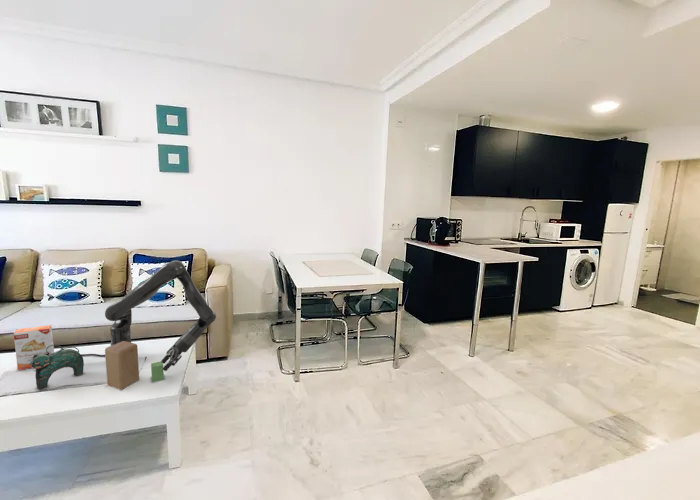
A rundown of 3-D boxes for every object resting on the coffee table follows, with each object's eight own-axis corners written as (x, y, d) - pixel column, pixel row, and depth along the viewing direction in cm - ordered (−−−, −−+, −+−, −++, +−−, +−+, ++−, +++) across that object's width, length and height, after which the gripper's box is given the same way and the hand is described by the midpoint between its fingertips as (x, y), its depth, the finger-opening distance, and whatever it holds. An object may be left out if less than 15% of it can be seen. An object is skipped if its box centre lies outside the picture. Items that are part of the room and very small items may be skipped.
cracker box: (17, 371, 171) (12, 333, 168) (20, 365, 176) (16, 328, 173) (53, 364, 179) (49, 328, 176) (55, 359, 184) (51, 324, 181)
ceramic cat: (35, 392, 155) (31, 353, 151) (30, 388, 158) (26, 349, 155) (86, 374, 171) (83, 338, 168) (80, 370, 175) (77, 335, 171)
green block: (151, 377, 172) (150, 363, 170) (162, 374, 175) (162, 360, 173) (152, 382, 168) (151, 367, 166) (163, 379, 171) (163, 365, 169)
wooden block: (140, 380, 169) (138, 343, 166) (121, 390, 159) (118, 352, 156) (126, 375, 172) (123, 339, 169) (106, 385, 163) (103, 348, 159)
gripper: (178, 332, 180) (155, 357, 175) (183, 342, 169) (158, 369, 164) (189, 339, 184) (167, 363, 179) (194, 349, 172) (170, 376, 168)
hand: (163, 366), depth 172 cm, fingers open, 8 cm apart
